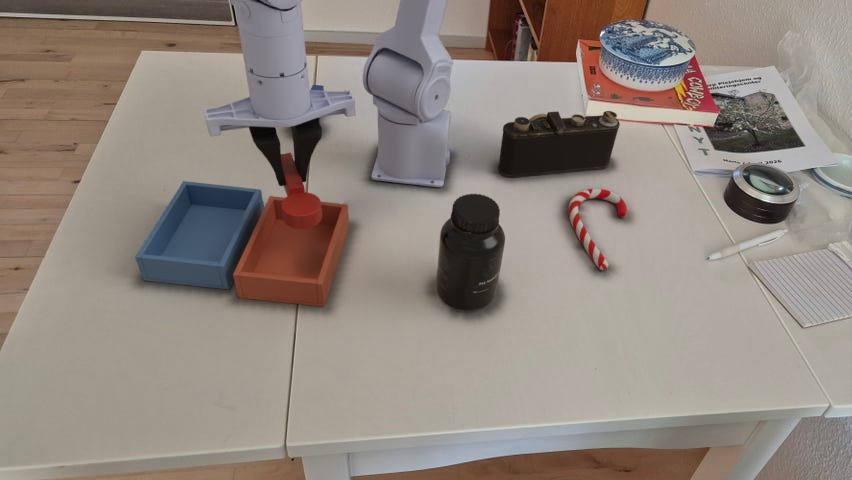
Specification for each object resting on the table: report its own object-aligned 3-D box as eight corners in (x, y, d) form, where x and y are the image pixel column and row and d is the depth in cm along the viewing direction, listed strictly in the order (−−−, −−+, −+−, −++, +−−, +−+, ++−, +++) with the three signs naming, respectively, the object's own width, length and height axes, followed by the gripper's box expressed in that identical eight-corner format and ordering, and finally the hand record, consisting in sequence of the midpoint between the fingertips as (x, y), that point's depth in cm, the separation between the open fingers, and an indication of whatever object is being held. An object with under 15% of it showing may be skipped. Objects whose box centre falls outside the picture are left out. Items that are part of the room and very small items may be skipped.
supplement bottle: (490, 319, 72) (503, 236, 64) (429, 306, 73) (433, 222, 64) (501, 276, 77) (514, 194, 69) (444, 264, 78) (450, 181, 69)
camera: (595, 143, 99) (607, 95, 93) (613, 170, 94) (627, 121, 89) (489, 152, 94) (494, 102, 89) (502, 181, 90) (509, 130, 84)
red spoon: (268, 175, 75) (265, 156, 73) (303, 169, 76) (301, 150, 75) (288, 232, 69) (285, 213, 67) (326, 224, 70) (324, 205, 68)
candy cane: (577, 262, 78) (566, 184, 89) (575, 270, 79) (564, 191, 90) (642, 266, 78) (623, 188, 89) (639, 274, 79) (621, 196, 90)
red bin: (349, 226, 81) (348, 204, 78) (324, 307, 71) (321, 284, 69) (273, 218, 81) (269, 195, 78) (238, 297, 71) (232, 274, 69)
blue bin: (265, 212, 81) (261, 189, 79) (229, 289, 72) (223, 266, 69) (189, 203, 81) (183, 180, 79) (143, 280, 72) (134, 256, 69)
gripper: (340, 36, 68) (346, 148, 78) (189, 52, 63) (216, 168, 73) (359, 69, 64) (363, 183, 73) (199, 88, 59) (226, 208, 68)
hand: (291, 178), depth 73 cm, fingers closed on red spoon
